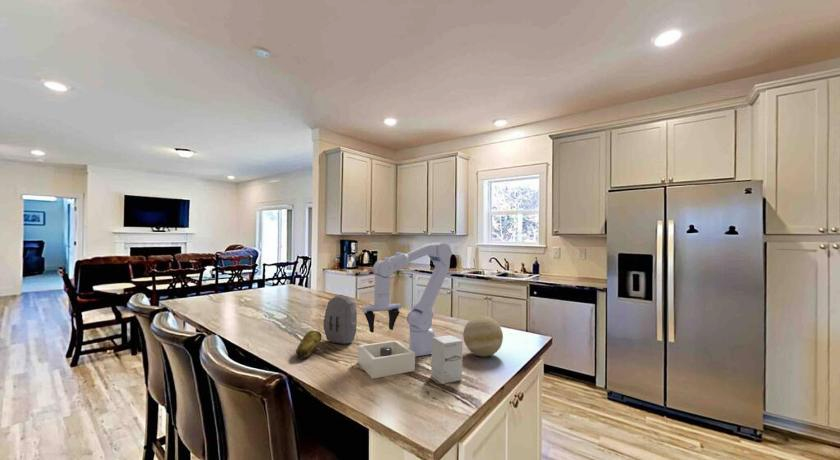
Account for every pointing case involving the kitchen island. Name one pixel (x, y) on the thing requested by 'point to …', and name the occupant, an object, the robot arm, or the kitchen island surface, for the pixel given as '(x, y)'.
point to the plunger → (385, 351)
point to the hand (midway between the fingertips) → (381, 330)
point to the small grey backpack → (340, 320)
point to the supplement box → (446, 359)
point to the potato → (308, 344)
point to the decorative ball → (483, 336)
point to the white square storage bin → (386, 359)
